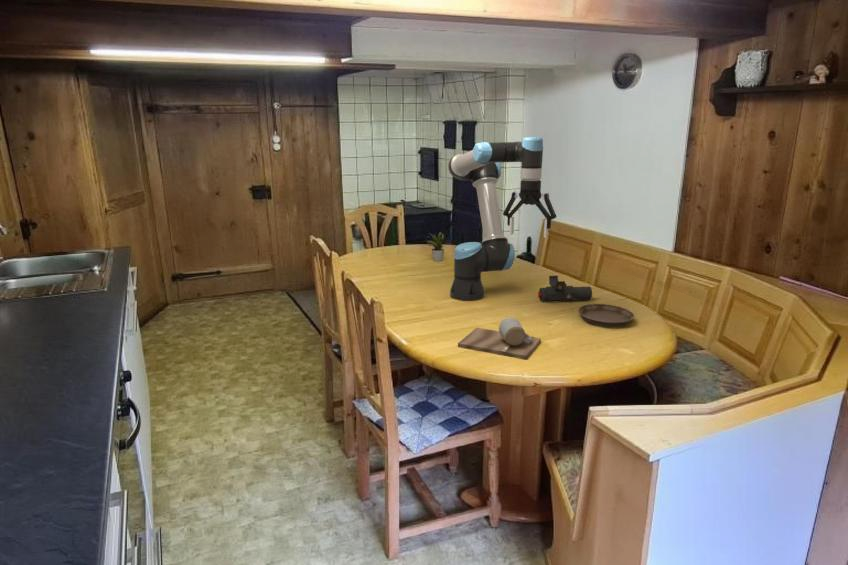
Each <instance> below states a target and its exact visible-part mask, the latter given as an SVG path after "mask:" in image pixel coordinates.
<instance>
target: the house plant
mask: <svg viewBox="0 0 848 565" xmlns="http://www.w3.org/2000/svg"><path fill="white" fill-rule="evenodd" d="M428 234H429V235H430V236H431V237H432V238H431V237H430V236H428V235H427V238H429V239H430V240H426V242H427V244H428V245H427V247H428V246H429V248H430V247H433V248H432V249H431V253H432V254H431V255H432V259H433V261H434V262H443V259H444V253H445V246H444V245H445V244H446V242H444V241H445V240H446V238H448V236H447V237H445V236H444V234H442V232H441V231H440V232H438V235H436V234H435V233H433V234H432V233H430V232H429V233H428Z"/></svg>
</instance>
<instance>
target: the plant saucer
mask: <svg viewBox="0 0 848 565" xmlns="http://www.w3.org/2000/svg"><path fill="white" fill-rule="evenodd" d="M577 311H578V312H577V313H578V314H579V316H580V317H581V318H582V320H584V321H585V322H587V323H589V324H591V325H593V326H599V327H605V328H617V327H623V326H626V325H628V324H629V323H631V322H632V321H633V319H634V318H635V314H634V313H633V312H632V311H631V310H629V309H627V308H625V307H621V306H617V305H613V304H604V303H592V304H591V303H590V304H585V305H582V306H580V307H579V308H577Z"/></svg>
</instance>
